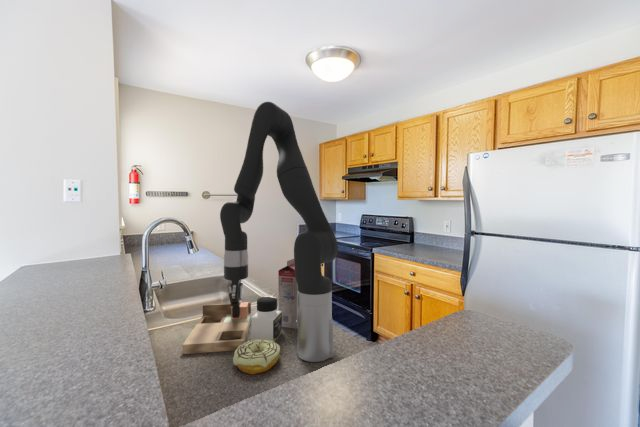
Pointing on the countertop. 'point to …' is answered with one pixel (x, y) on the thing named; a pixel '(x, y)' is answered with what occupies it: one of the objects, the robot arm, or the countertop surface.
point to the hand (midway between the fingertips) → (236, 316)
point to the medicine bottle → (266, 320)
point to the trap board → (217, 330)
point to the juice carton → (288, 295)
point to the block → (242, 311)
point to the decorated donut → (256, 356)
